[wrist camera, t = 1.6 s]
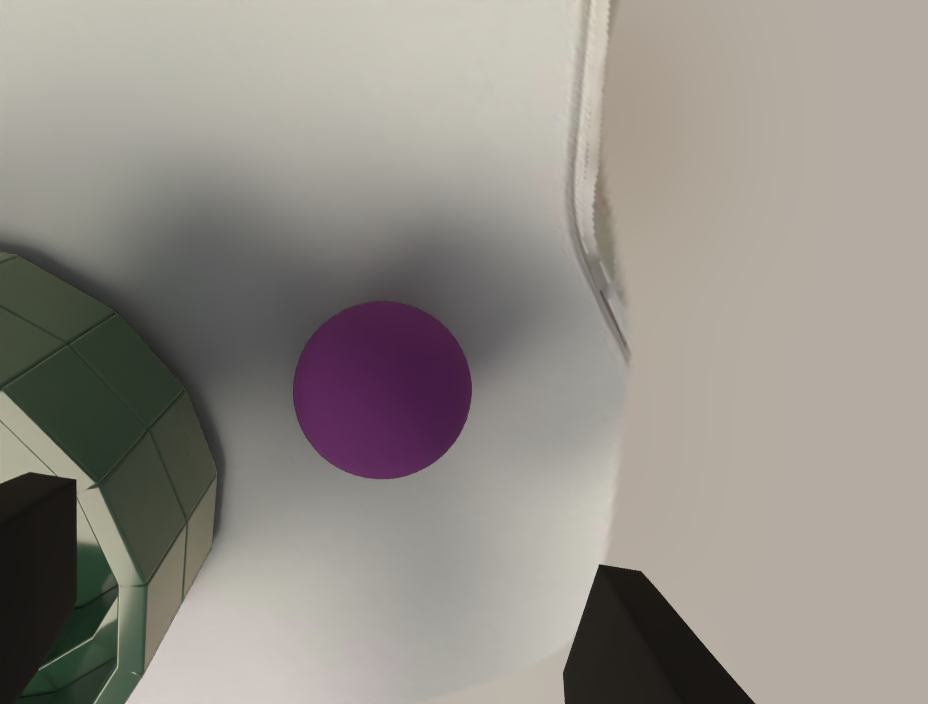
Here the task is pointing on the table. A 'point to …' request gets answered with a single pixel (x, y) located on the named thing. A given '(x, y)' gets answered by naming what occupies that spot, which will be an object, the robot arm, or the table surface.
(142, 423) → the bowl
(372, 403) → the ball
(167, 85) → the table surface
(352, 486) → the table surface
